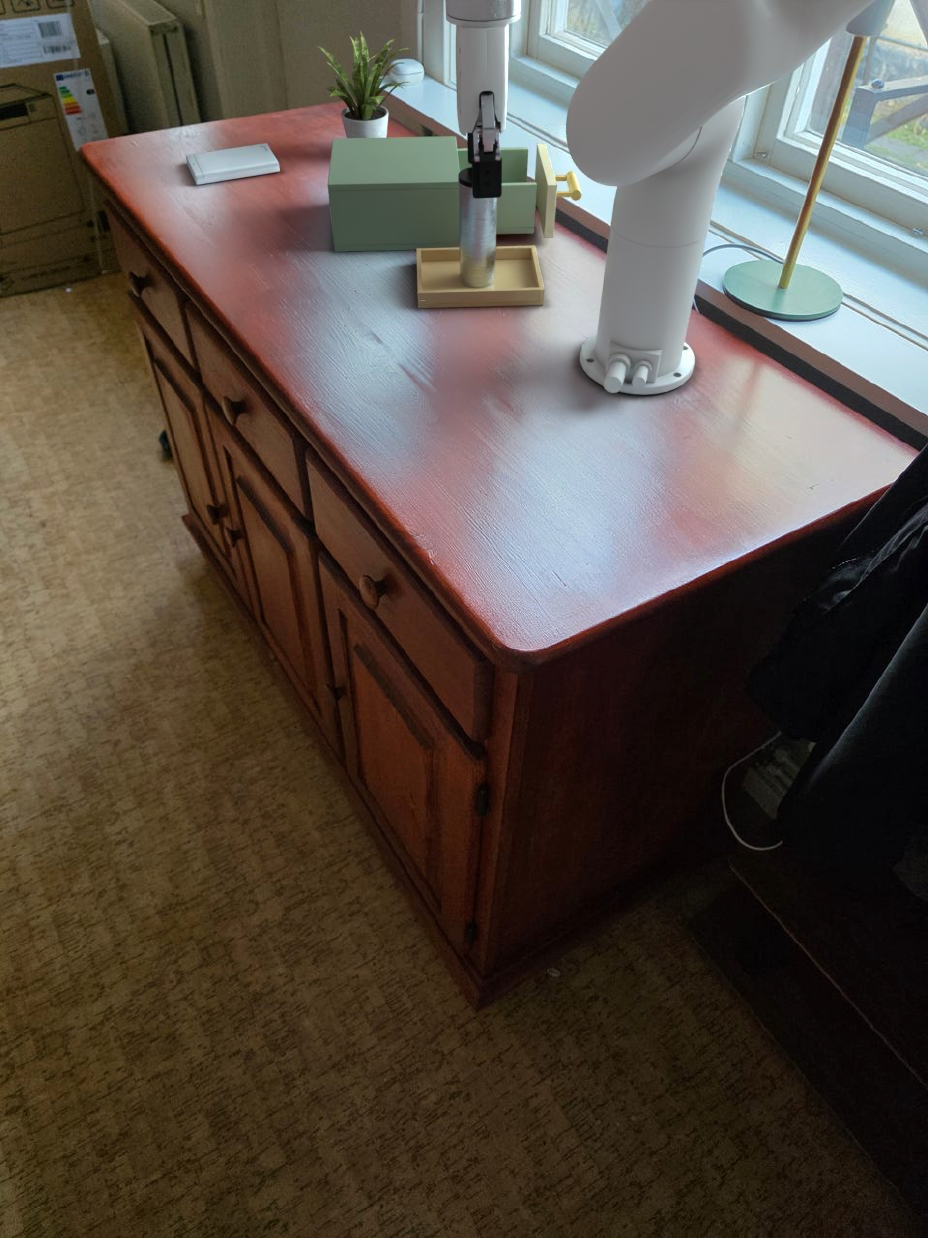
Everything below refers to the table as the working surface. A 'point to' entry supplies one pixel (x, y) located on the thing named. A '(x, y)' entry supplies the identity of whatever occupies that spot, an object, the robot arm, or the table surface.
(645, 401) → the table surface
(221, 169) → the hard drive
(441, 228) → the cabinet
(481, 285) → the canister
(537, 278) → the tray
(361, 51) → the house plant
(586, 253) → the table surface
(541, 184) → the drawer
